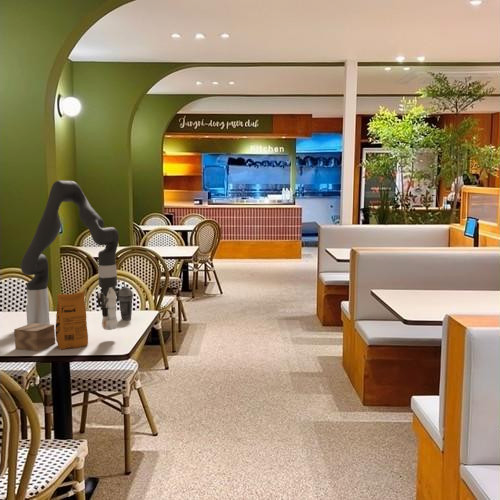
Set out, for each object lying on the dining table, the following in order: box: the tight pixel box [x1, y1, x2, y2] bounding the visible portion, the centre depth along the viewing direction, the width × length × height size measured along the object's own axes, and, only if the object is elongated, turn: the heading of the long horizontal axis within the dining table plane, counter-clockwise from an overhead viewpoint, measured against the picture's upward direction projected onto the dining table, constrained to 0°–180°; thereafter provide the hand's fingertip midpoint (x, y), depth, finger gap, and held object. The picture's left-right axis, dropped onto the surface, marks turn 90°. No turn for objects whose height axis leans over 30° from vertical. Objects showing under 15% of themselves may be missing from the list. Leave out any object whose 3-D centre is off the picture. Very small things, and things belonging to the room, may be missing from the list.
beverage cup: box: [118, 277, 134, 321], centre depth 289 cm, size 7×7×20 cm
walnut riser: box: [13, 323, 56, 352], centre depth 246 cm, size 11×11×8 cm
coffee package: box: [55, 291, 89, 350], centre depth 245 cm, size 10×12×22 cm
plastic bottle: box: [101, 287, 119, 331], centre depth 253 cm, size 6×7×20 cm
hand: (109, 314), depth 253 cm, fingers closed on plastic bottle, 5 cm apart
